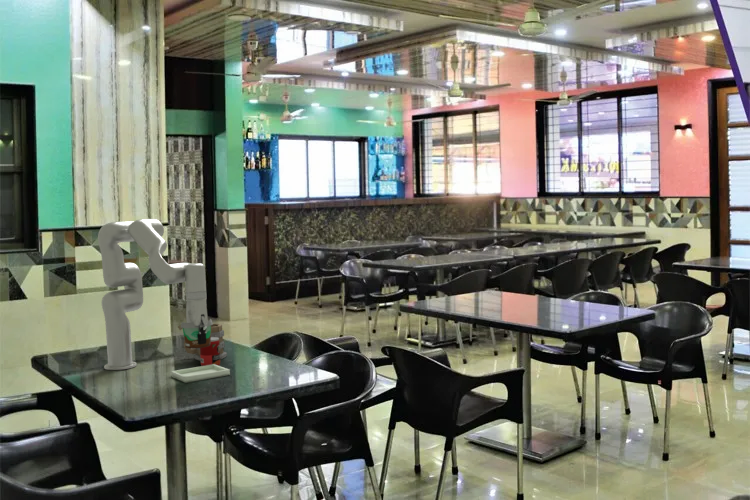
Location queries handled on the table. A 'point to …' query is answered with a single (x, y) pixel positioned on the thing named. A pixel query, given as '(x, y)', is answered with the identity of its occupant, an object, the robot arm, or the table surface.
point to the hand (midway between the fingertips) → (198, 342)
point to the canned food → (211, 353)
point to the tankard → (215, 332)
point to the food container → (195, 334)
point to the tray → (200, 373)
